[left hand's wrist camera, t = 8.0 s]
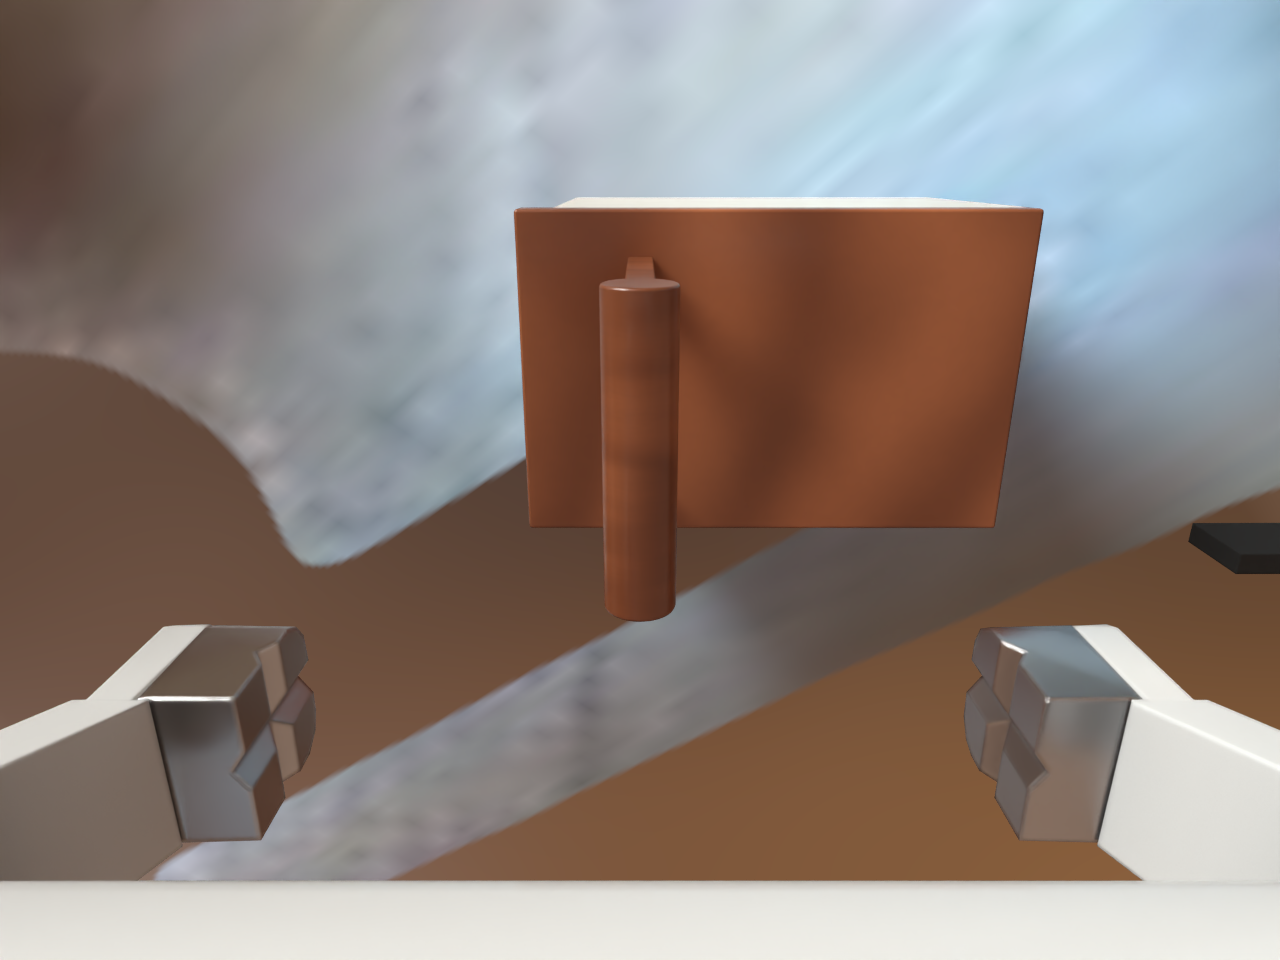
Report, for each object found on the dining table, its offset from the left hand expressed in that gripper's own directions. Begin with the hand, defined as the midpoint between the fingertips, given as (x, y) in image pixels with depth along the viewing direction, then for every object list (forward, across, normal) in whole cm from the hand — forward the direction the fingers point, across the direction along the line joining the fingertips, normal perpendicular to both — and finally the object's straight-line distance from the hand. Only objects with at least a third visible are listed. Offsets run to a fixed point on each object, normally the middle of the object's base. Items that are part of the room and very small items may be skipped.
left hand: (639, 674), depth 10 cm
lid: (+17, +4, 0) cm, 17 cm away
